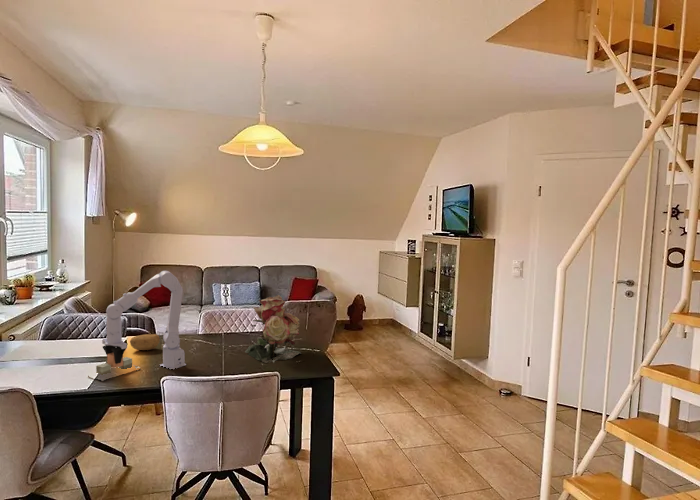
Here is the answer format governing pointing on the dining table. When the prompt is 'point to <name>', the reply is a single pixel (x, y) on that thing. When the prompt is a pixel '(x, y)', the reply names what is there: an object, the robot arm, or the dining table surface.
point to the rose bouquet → (274, 331)
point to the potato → (145, 342)
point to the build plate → (127, 363)
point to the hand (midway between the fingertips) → (114, 362)
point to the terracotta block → (113, 361)
